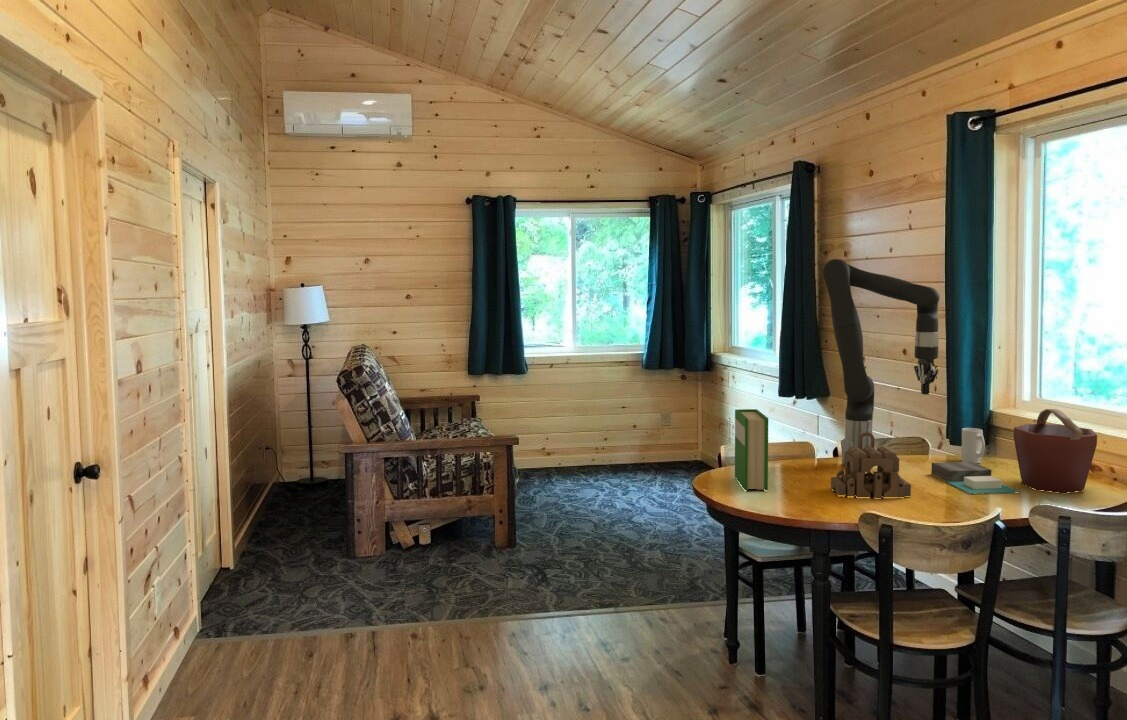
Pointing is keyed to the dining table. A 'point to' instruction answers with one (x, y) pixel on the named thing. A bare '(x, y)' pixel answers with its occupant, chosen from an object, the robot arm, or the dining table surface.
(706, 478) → the dining table surface
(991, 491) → the mat
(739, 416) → the hardback book
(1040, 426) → the bucket
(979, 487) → the tile
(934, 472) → the block
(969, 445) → the mug
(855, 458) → the wooden puzzle
